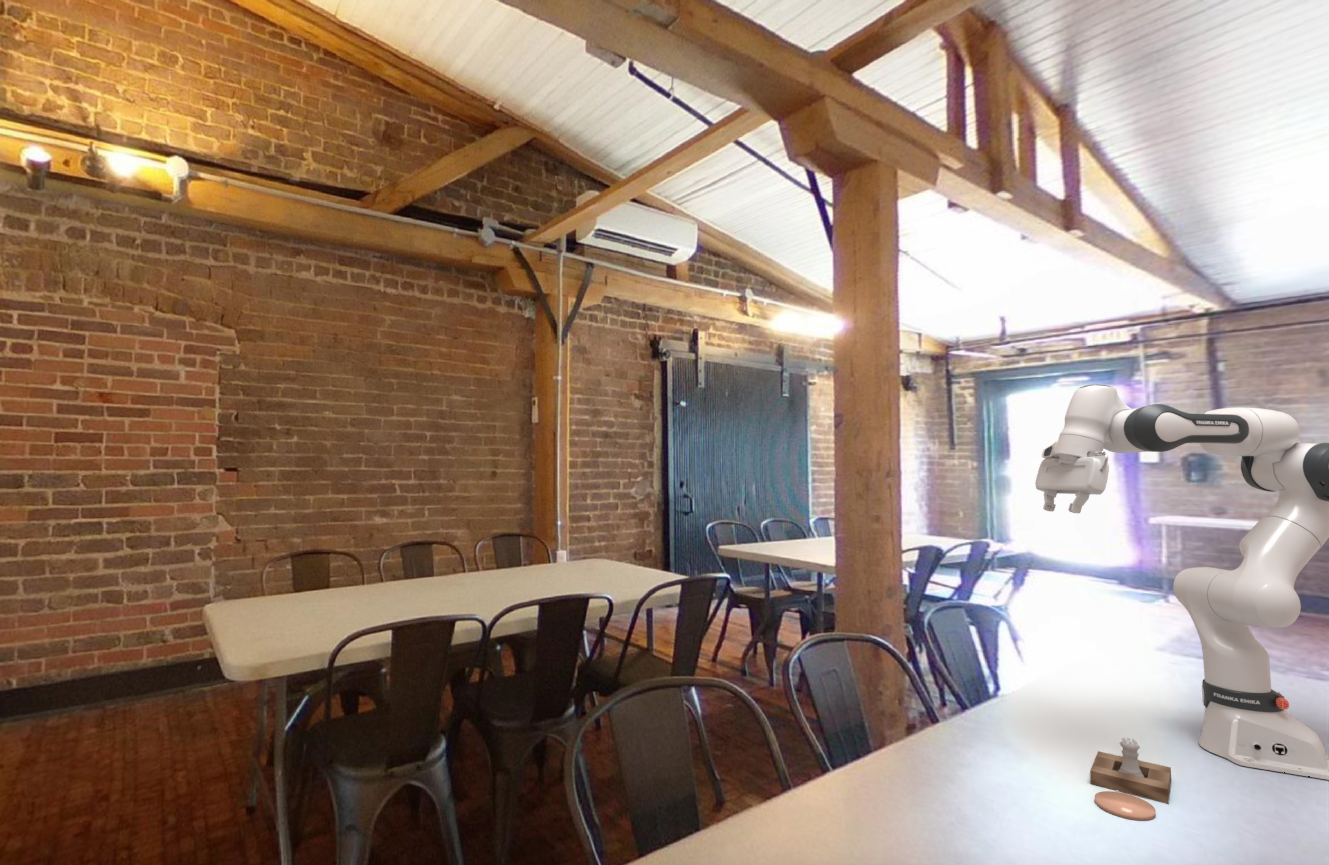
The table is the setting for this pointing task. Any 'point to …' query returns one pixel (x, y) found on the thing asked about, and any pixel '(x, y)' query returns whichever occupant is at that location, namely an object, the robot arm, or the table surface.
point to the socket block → (1132, 777)
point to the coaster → (1125, 805)
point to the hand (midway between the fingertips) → (1060, 511)
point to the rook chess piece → (1130, 757)
